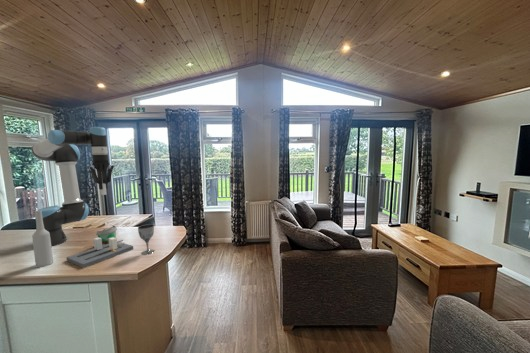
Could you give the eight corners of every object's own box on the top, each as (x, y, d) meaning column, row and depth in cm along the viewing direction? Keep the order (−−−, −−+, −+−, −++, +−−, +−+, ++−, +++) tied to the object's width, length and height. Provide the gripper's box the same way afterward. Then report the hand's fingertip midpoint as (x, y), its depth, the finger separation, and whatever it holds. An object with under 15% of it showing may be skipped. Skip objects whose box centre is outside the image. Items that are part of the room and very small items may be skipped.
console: (66, 260, 123) (65, 253, 122) (115, 244, 144) (115, 237, 144) (84, 268, 114) (83, 259, 114) (133, 249, 136) (132, 242, 135)
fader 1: (94, 249, 131) (93, 238, 131) (99, 247, 133) (98, 237, 133) (97, 250, 129) (96, 239, 129) (102, 248, 132) (101, 238, 131)
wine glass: (143, 249, 135) (141, 224, 133) (157, 248, 135) (156, 223, 134) (137, 255, 127) (135, 229, 125) (152, 254, 127) (150, 228, 126)
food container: (106, 248, 139) (104, 231, 138) (97, 247, 140) (96, 231, 139) (122, 240, 151) (121, 225, 150) (114, 240, 152) (113, 225, 151)
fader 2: (109, 248, 131) (108, 238, 130) (113, 247, 133) (113, 237, 132) (113, 250, 129) (112, 239, 128) (117, 248, 131) (116, 238, 130)
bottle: (43, 267, 116) (36, 212, 113) (32, 267, 117) (25, 212, 114) (56, 261, 122) (50, 209, 119) (46, 261, 123) (40, 209, 120)
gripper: (90, 154, 126) (94, 197, 128) (115, 154, 138) (119, 193, 140) (83, 154, 130) (87, 196, 132) (108, 154, 141) (112, 192, 143)
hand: (103, 194), depth 136 cm, fingers closed
